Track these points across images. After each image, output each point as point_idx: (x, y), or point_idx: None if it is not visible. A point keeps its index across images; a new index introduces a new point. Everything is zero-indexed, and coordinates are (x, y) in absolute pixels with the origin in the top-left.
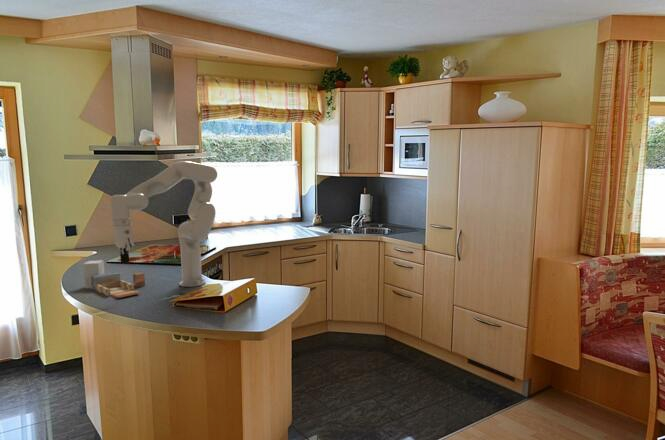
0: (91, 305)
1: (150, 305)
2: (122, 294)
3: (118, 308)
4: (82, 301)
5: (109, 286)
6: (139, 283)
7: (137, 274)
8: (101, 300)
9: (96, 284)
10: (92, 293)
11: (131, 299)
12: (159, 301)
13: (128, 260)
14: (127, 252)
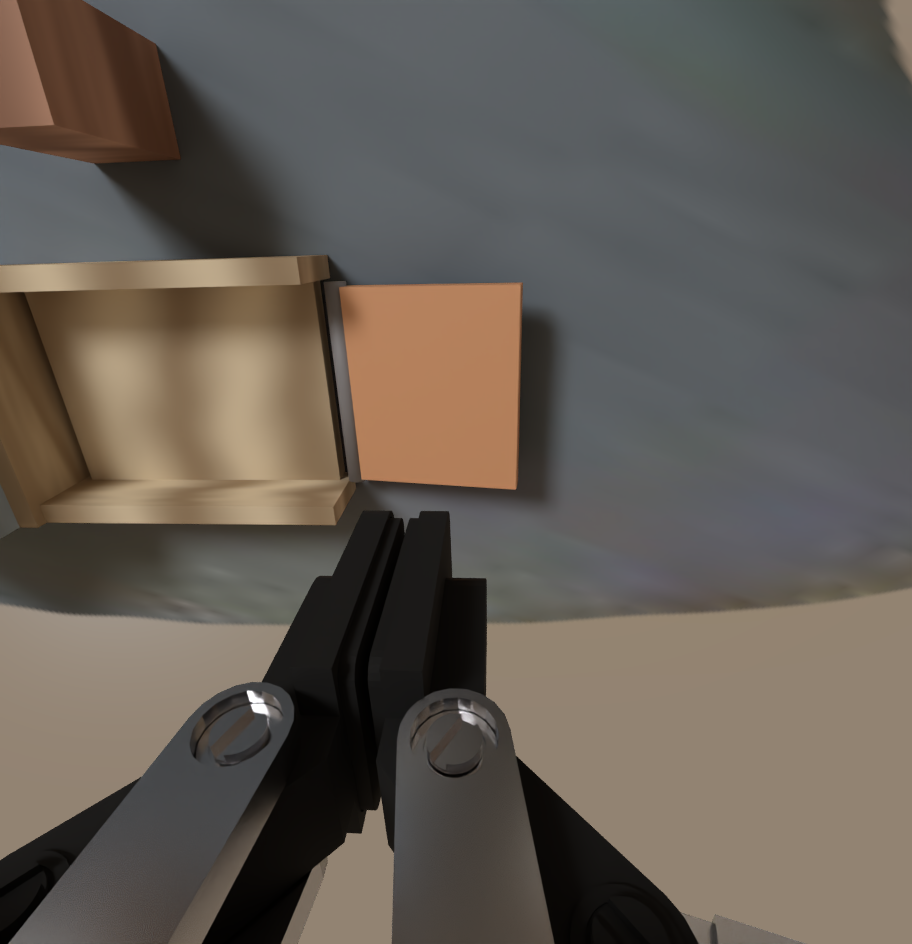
0: None
1: (882, 335)
2: (496, 451)
3: (699, 542)
4: None
5: (37, 388)
6: (134, 109)
7: (20, 89)
8: None
9: (59, 520)
10: None
11: (538, 374)
12: (853, 202)
13: (445, 543)
14: (553, 811)
